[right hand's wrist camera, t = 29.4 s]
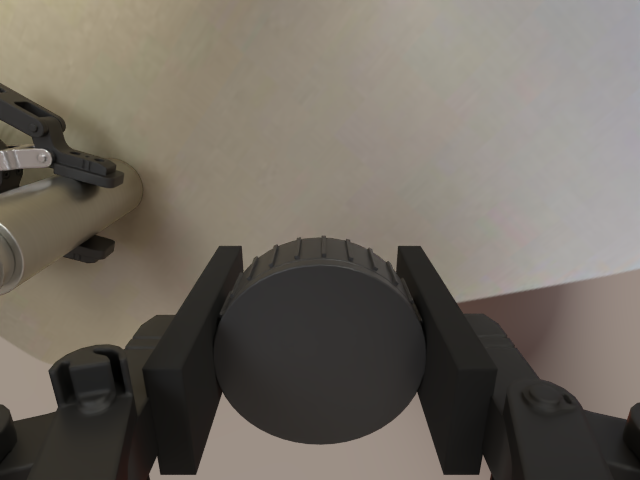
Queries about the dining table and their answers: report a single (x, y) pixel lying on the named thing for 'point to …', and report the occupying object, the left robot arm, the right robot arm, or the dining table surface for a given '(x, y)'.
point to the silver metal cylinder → (57, 220)
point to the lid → (319, 342)
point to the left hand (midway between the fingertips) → (113, 216)
